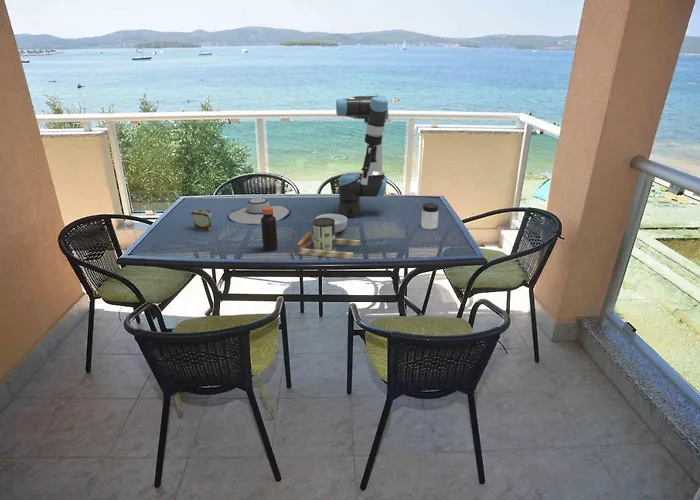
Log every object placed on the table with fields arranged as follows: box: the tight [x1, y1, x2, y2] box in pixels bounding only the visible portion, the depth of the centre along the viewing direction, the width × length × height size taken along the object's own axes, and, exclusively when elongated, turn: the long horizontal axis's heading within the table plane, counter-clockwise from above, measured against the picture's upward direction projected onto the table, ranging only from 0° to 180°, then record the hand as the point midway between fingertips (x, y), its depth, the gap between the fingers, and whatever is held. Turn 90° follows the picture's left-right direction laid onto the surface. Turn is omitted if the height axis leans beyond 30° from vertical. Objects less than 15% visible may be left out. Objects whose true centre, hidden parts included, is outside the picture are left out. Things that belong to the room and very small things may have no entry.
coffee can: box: [312, 218, 336, 251], centre depth 209 cm, size 10×10×14 cm
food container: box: [190, 208, 213, 233], centre depth 236 cm, size 12×6×10 cm, turn 65°
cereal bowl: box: [314, 213, 348, 234], centre depth 232 cm, size 17×17×7 cm
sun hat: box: [226, 197, 292, 226], centre depth 258 cm, size 36×36×9 cm
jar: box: [420, 202, 439, 230], centre depth 237 cm, size 9×8×12 cm
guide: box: [296, 230, 361, 260], centre depth 210 cm, size 26×17×5 cm, turn 78°
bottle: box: [260, 207, 279, 252], centre depth 208 cm, size 7×7×20 cm
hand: (366, 179), depth 207 cm, fingers open, 13 cm apart
